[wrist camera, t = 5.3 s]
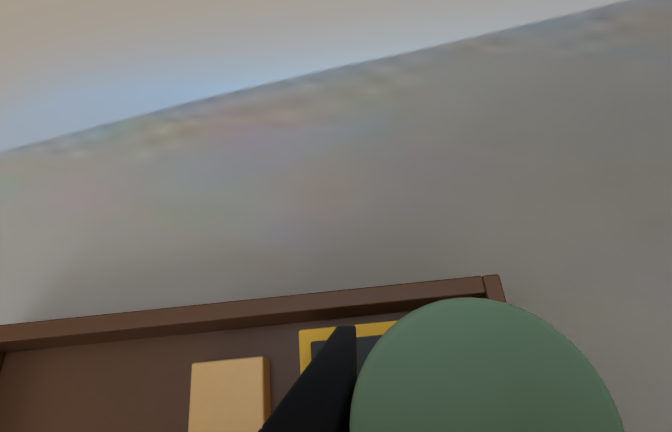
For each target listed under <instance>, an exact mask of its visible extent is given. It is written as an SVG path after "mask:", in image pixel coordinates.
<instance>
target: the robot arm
mask: <svg viewBox="0 0 672 432" xmlns="http://www.w3.org/2000/svg"><path fill="white" fill-rule="evenodd" d="M356 382H357V340H356V327H355V326H354V325H339V326H337V327H336V328H335V330H334V331H333V332H332V334H331V335H330V336H329V338H328V339H327V340H326V342H325V343H324V344H323V346H322V347H321V348H320V350H319V351H318V352H317V354H316V355H315V356H314V358H313V359H312V360H311V362H310V363H309V364H308V366H307V367H306V368H305V370H304V371H303V372H302V374H301V375H300V376H299V378H298V379H297V380H296V382H295V383H294V384H293V386H292V387H291V388H290V390H289V391H288V392H287V394H286V395H285V396H284V398H283V399H282V400H281V402H280V403H279V404H278V406H277V407H276V408H275V410H274V411H273V412H272V414H271V415H270V416H269V418H268V419H267V420H266V422H265V423H264V424H263V426H262V429H259V430H258V432H350V412H351V403H352V398H353V393H354V389H355V385H356Z"/></svg>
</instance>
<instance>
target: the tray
mask: <svg viewBox="0 0 672 432" xmlns="http://www.w3.org/2000/svg"><path fill="white" fill-rule="evenodd" d="M464 297H474V298H485V299H491V300H495V301H500V302H504V303H506V299H505V296H504V292H503V288H502V284H501V281H500V277H499V275H497V274H495V275H485V276H482V277H481V276H475V277H465V278H455V279H445V280H436V281H426V282H416V283H406V284H397V285H387V286H377V287H367V288H358V289H348V290H338V291H328V292H319V293H309V294H299V295H290V296H280V297H270V298H260V299H251V300H241V301H231V302H221V303H212V304H202V305H192V306H182V307H173V308H163V309H153V310H143V311H134V312H124V313H114V314H105V315H95V316H85V317H75V318H66V319H56V320H46V321H36V322H27V323H17V324H7V325H0V432H188V424H189V407H190V389H191V371H192V364H193V363H196V362H206V361H216V360H226V359H236V358H246V357H256V356H263V357H265V358H268V359H269V360H270V393H271V414H272V412H273V411H274V410H275V408H276V407H277V406H278V404H279V403H280V402H281V400H282V399H283V398H284V396H285V395H286V394H287V392H288V391H289V390H290V388H291V387H292V386H293V384H294V383H295V382H296V380H297V379H298V378H299V376H300V355H299V331H300V330H306V329H316V328H326V327H337V326H339V325H357V324H368V323H378V322H388V321H398V320H399V319H401V318H402V317H404V316H405V315H407V314H409V313H410V312H412V311H414V310H416V309H418V308H420V307H422V306H424V305H427V304H430V303H433V302H437V301H440V300H445V299H451V298H464Z"/></svg>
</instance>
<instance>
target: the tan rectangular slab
mask: <svg viewBox="0 0 672 432" xmlns="http://www.w3.org/2000/svg"><path fill="white" fill-rule="evenodd" d="M270 415H271V393H270V360H269V359H268V358H265V357H263V356H256V357H246V358H236V359H226V360H216V361H206V362H196V363H193V364H192V371H191V389H190V407H189V424H188V432H258V430H259V429H262V426H263V424H264V423H265V422H266V420H267V419H268V418H269V416H270Z"/></svg>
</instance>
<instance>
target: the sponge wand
mask: <svg viewBox="0 0 672 432" xmlns="http://www.w3.org/2000/svg"><path fill="white" fill-rule="evenodd" d="M354 326H355V327H356V340H357V382H356V385H355V389H354V393H353V398H352V403H351V412H350V432H624V429H623V425H622V421H621V418H620V416H619V413H618V411H617V408H616V406H615V403H614V401H613V399H612V397H611V395H610V393H609V391H608V389H607V388H606V386H605V384H604V382H603V380H602V379H601V378H600V376H599V375H598V373H597V372H596V370H595V369H594V367H593V366H592V364H591V363H590V362H589V361H588V360H587V358H586V357H585V356H584V355H583V354H582V353H581V351H580V350H579V349H578V348H577V347H576V346H575V345H574V344H573V343H572V342H570V341H569V340H568V339H567V338H566V337H565V336H564V335H563V334H561V333H560V332H559V331H557V330H556V329H555V328H554V327H552V326H551V325H550V324H548V323H546V322H545V321H543V320H542V319H540V318H538V317H537V316H535V315H533V314H531V313H529V312H527V311H525V310H523V309H521V308H518V307H515V306H513V305H510V304H507V303H504V302H500V301H495V300H491V299H485V298H474V297H464V298H451V299H445V300H440V301H437V302H433V303H430V304H427V305H424V306H422V307H420V308H418V309H416V310H414V311H412V312H410V313H409V314H407V315H405V316H404V317H402V318H401V319H399V320H398V321H388V322H378V323H368V324H357V325H354ZM335 328H336V327H326V328H316V329H306V330H300V331H299V355H300V375H301V374H302V372H303V371H304V370H305V368H306V367H307V366H308V364H309V363H310V362H311V360H312V359H313V358H314V356H315V355H316V354H317V352H318V351H319V350H320V348H321V347H322V346H323V344H324V343H325V342H326V340H327V339H328V338H329V336H330V335H331V334H332V332H333V331H334V330H335Z"/></svg>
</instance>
